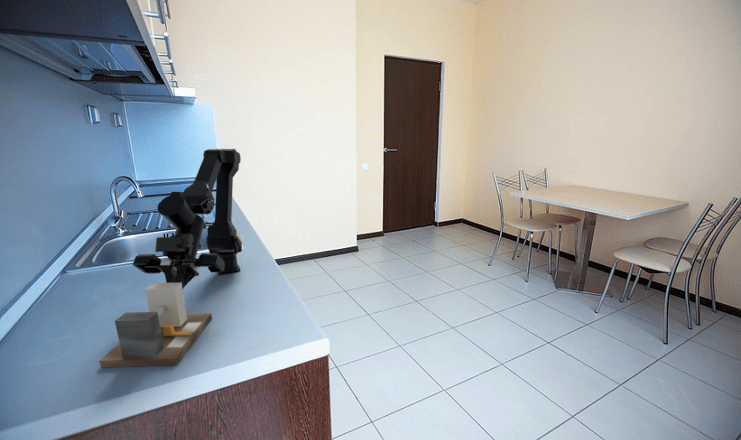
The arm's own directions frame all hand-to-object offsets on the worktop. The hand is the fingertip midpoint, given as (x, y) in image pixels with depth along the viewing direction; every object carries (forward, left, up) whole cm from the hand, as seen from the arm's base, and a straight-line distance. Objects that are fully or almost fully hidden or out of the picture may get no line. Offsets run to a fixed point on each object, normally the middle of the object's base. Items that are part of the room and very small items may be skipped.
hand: (171, 299), depth 76 cm
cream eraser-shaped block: (+3, -2, -5) cm, 6 cm away
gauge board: (+5, -3, -7) cm, 9 cm away
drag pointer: (+7, 0, -5) cm, 9 cm away
